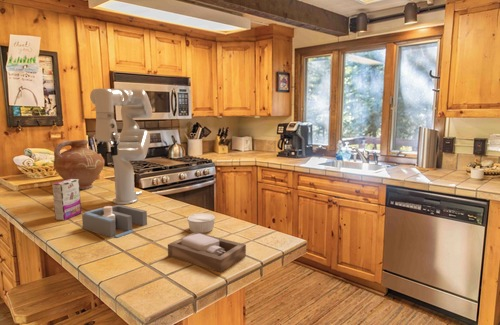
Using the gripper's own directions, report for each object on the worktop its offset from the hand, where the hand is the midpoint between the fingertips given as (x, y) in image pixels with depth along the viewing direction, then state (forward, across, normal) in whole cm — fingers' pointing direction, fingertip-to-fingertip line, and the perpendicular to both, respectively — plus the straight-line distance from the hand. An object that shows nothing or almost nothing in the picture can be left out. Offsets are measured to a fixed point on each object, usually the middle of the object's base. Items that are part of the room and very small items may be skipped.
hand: (107, 154), depth 153 cm
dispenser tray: (+27, -67, +13) cm, 73 cm away
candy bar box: (+28, +12, +13) cm, 33 cm away
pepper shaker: (+28, -18, +14) cm, 36 cm away
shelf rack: (+28, -18, +10) cm, 35 cm away
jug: (+29, +61, -24) cm, 72 cm away
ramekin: (+28, -49, -6) cm, 57 cm away
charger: (+27, -67, +13) cm, 73 cm away
